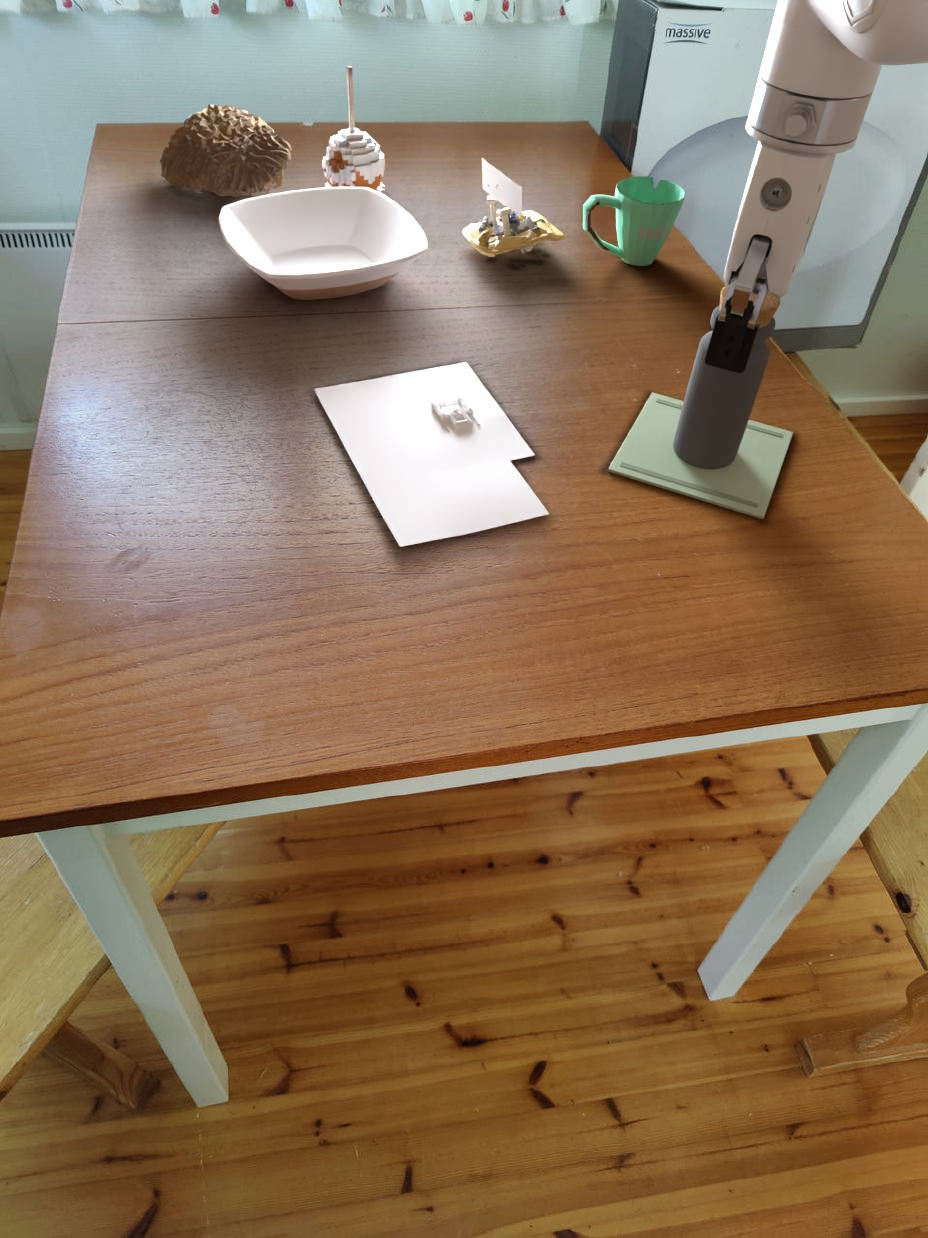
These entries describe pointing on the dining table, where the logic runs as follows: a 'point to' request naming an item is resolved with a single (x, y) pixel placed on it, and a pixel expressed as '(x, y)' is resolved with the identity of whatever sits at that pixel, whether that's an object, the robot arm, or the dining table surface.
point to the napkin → (727, 487)
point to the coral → (225, 153)
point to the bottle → (722, 397)
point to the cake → (507, 219)
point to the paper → (433, 452)
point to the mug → (638, 217)
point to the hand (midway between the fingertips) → (737, 339)
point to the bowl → (323, 239)
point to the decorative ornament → (353, 154)
